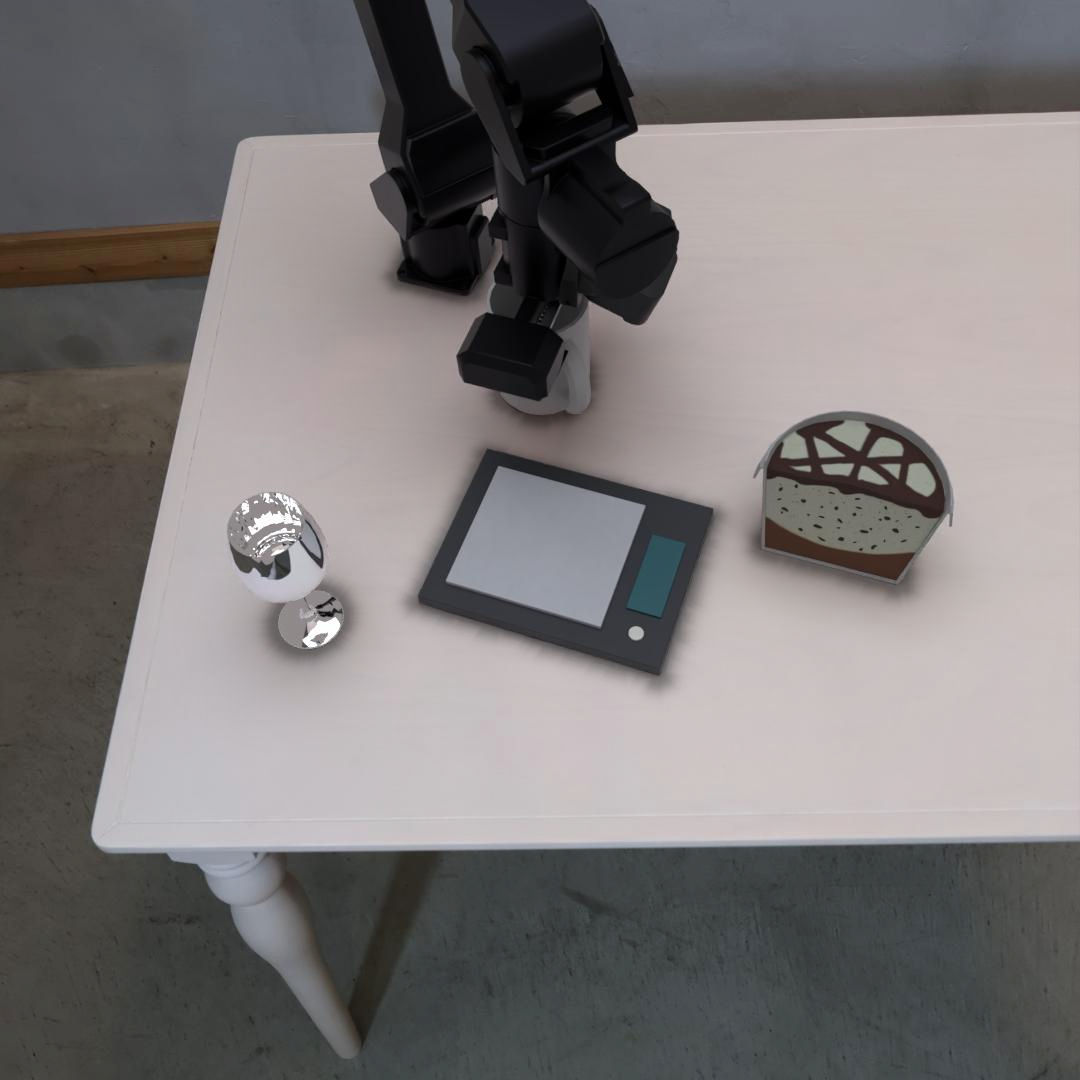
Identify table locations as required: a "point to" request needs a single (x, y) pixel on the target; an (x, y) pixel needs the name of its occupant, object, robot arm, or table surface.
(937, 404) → the table surface
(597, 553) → the scale
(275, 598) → the wineglass
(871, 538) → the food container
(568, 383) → the cup
